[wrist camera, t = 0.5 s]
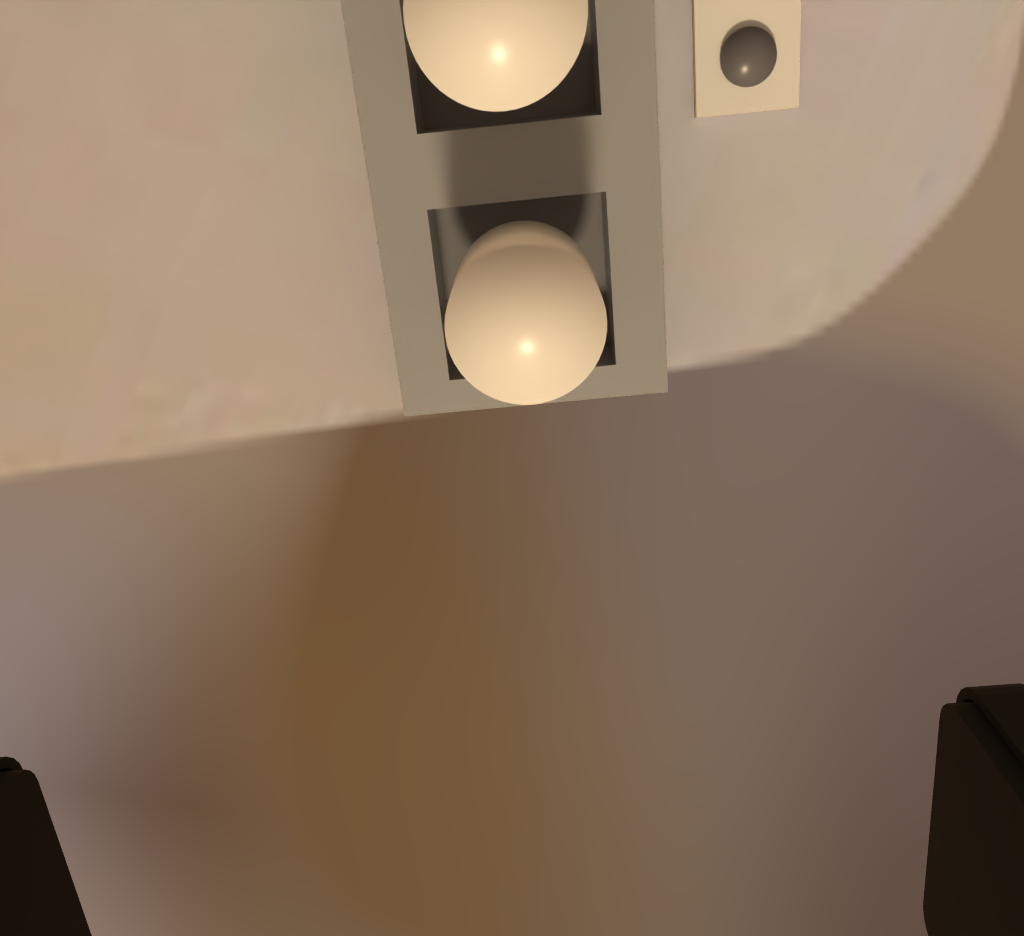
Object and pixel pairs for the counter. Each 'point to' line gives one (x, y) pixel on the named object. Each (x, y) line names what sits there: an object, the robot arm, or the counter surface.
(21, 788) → the robot arm
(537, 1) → the button mid
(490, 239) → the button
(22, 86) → the counter surface
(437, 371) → the button board
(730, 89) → the card
